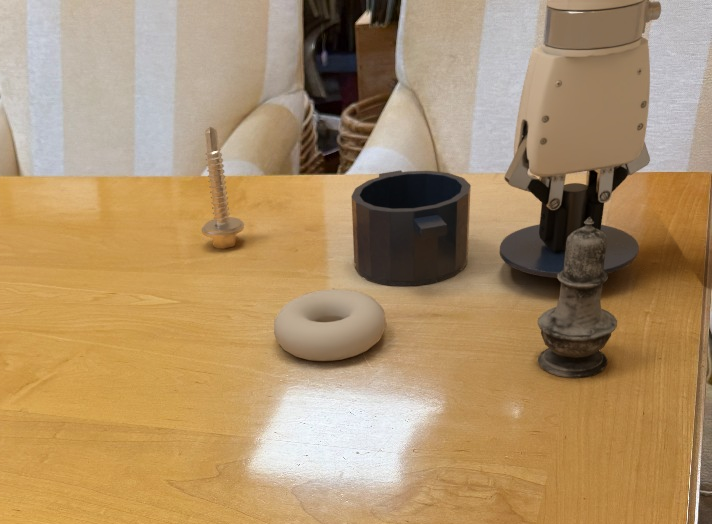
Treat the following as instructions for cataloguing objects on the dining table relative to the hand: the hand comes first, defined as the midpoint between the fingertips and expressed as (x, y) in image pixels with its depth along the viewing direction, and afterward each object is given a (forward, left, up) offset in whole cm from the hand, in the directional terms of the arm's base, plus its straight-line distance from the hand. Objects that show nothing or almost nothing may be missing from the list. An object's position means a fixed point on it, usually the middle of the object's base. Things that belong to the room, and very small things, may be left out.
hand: (568, 242), depth 85 cm
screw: (+31, -21, -3) cm, 37 cm away
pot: (+13, -8, -3) cm, 15 cm away
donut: (+24, +6, -3) cm, 25 cm away
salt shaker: (+6, +16, -3) cm, 17 cm away
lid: (0, 0, -1) cm, 1 cm away
